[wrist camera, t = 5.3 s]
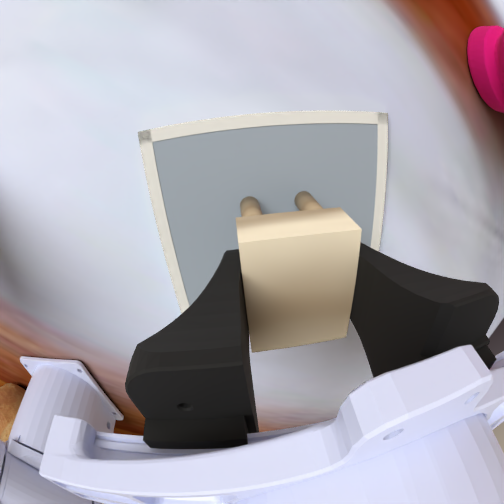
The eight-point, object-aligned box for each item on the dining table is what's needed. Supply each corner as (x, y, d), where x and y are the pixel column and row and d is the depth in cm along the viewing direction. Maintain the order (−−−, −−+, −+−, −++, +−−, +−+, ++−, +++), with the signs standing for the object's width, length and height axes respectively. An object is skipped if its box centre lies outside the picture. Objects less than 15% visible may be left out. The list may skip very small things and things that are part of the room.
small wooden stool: (232, 192, 13) (238, 243, 9) (317, 185, 13) (361, 229, 9) (243, 282, 16) (251, 352, 11) (315, 273, 16) (345, 337, 11)
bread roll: (55, 393, 22) (36, 454, 15) (74, 440, 28) (65, 484, 22) (-11, 361, 20) (-35, 413, 13) (20, 417, 26) (7, 457, 19)
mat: (367, 300, 18) (369, 304, 18) (187, 325, 18) (187, 330, 17) (383, 112, 12) (387, 113, 12) (140, 131, 12) (137, 132, 11)
